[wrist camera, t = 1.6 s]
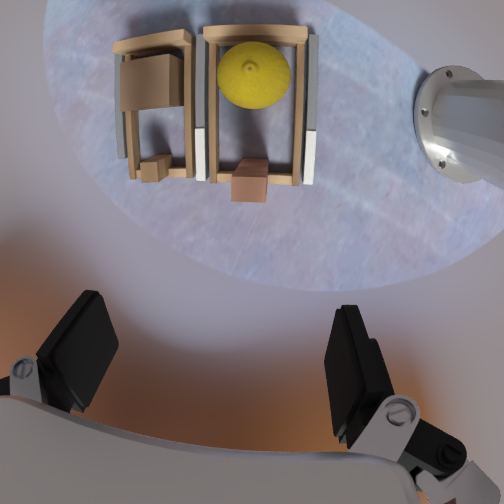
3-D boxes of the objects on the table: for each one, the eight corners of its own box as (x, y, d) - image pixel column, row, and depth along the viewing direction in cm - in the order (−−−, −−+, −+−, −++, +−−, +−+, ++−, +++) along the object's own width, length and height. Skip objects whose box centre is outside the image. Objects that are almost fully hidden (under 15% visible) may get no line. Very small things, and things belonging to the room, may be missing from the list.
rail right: (129, 49, 21) (122, 46, 20) (131, 155, 26) (124, 158, 25) (122, 50, 21) (115, 48, 20) (125, 156, 27) (118, 158, 25)
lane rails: (316, 38, 20) (319, 34, 19) (310, 180, 27) (312, 184, 25) (200, 37, 21) (195, 33, 19) (200, 176, 27) (196, 180, 26)
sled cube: (196, 38, 21) (183, 28, 17) (197, 173, 27) (185, 184, 24) (132, 48, 21) (113, 42, 18) (136, 175, 27) (118, 186, 24)
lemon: (214, 89, 23) (190, 82, 16) (248, 42, 21) (238, 16, 14) (265, 120, 24) (261, 125, 17) (300, 74, 22) (311, 59, 15)
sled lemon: (302, 38, 20) (313, 13, 14) (297, 181, 27) (305, 208, 20) (213, 37, 21) (191, 14, 14) (213, 178, 27) (193, 203, 21)
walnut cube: (185, 61, 22) (169, 53, 18) (185, 105, 24) (169, 105, 20) (141, 67, 22) (120, 62, 18) (142, 109, 24) (120, 112, 20)
